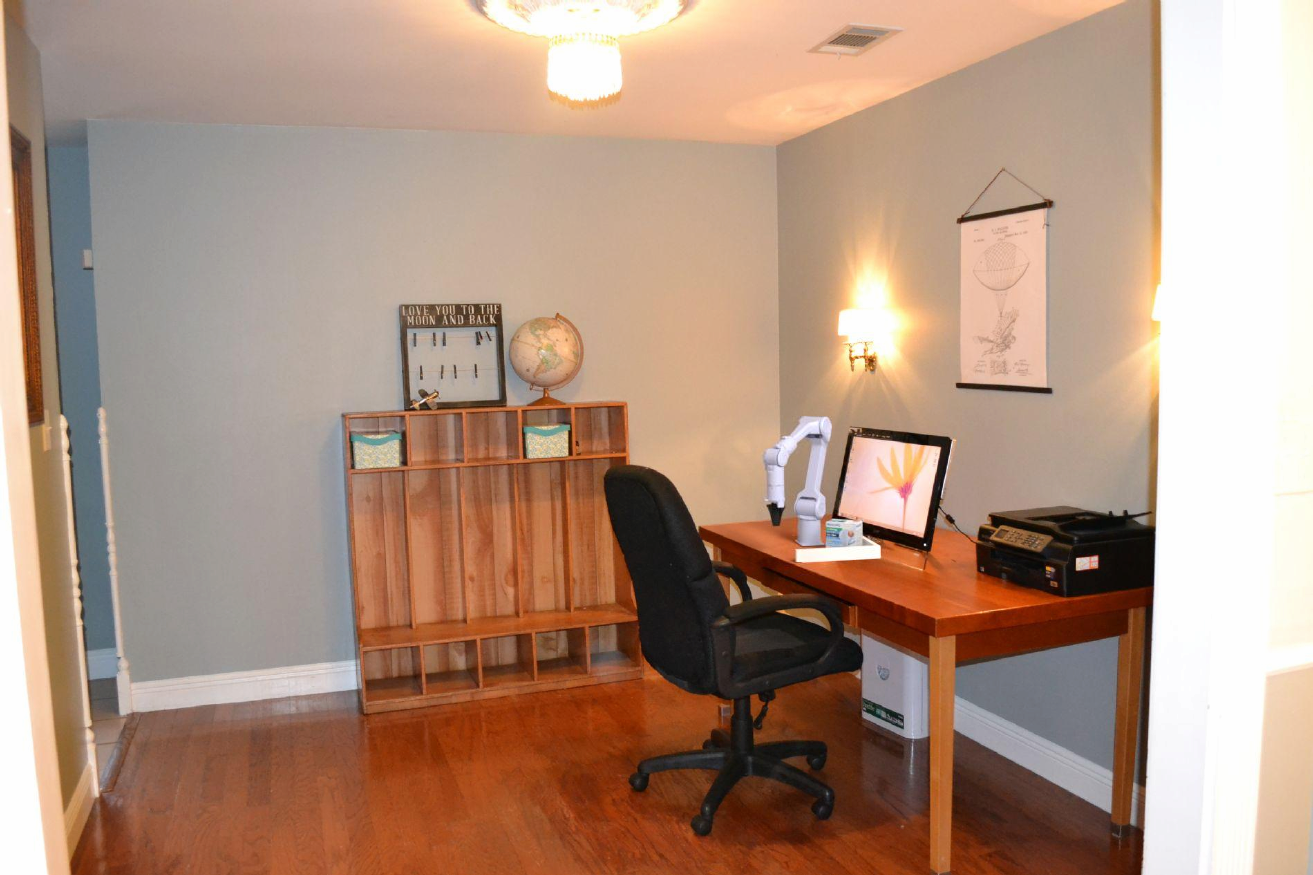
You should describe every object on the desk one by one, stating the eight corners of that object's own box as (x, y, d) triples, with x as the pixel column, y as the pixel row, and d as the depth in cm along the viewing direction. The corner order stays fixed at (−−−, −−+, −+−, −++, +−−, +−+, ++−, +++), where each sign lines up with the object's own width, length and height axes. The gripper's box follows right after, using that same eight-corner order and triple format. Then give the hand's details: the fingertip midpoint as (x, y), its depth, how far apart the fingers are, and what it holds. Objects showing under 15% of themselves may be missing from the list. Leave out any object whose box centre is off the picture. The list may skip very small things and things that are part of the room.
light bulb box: (825, 554, 332) (824, 521, 331) (832, 550, 337) (832, 518, 336) (856, 556, 326) (856, 523, 325) (863, 552, 332) (863, 520, 331)
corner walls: (781, 550, 339) (781, 538, 338) (861, 546, 342) (861, 534, 342) (796, 562, 320) (796, 550, 319) (880, 558, 323) (880, 545, 322)
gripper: (758, 482, 338) (759, 522, 339) (768, 488, 324) (769, 530, 325) (779, 481, 339) (779, 521, 340) (790, 487, 325) (790, 529, 326)
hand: (776, 525), depth 333 cm, fingers closed
